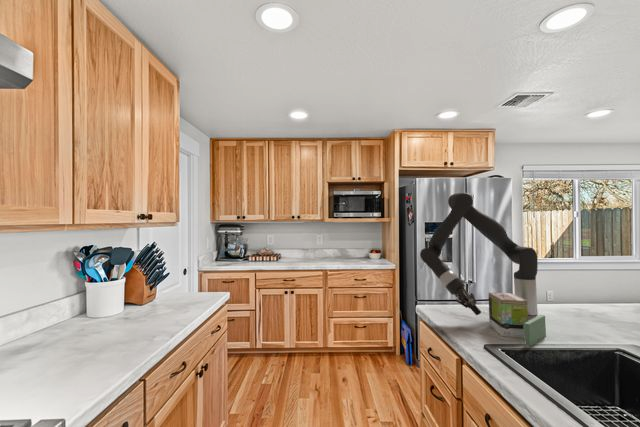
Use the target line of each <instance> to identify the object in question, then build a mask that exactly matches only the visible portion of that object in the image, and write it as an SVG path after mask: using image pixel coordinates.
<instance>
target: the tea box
mask: <svg viewBox="0 0 640 427" xmlns="http://www.w3.org/2000/svg"><path fill="white" fill-rule="evenodd" d="M488 315H489V317H488V319H489V320H488V322H489V326H490V327H491V328H492V329H493V330H495V332H497V333H498V334H499V335H501V337H507V338H522V339H524V336H525V329H524V323H526V322H528V321H529V315H528V306H527V300H525V299H523V298H520V297H518V296H516V295H515V293H514V294H513V293H510V292H488Z"/></svg>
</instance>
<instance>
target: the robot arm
mask: <svg viewBox="0 0 640 427" xmlns="http://www.w3.org/2000/svg"><path fill="white" fill-rule="evenodd" d="M447 200H448V203H447V204H448V206H449V208H450V209H451V210H450V212H449V213H448V215H447V217H445V219H444V220H442V222H441V223H440V224H439V225H438V226H437V228H436V229H435V230H434V232H433V234H432V236H431V237H430V240H429V246H428V247H423V248H422V249H421V251H420V252H419V256H420V259H421V261H423V263H425V265H426V266H428V268H429V269H430V270H431V271H432V272H433V274H434V275H435V276H436V277H437V279H439V281H440V283H441V284H442V286H444V287H445V289H447V291H448V292H449V294H451V295H452V296H455V297H456V299H455V301H456V302H457V303H458V304H459V305H461V306H463V307H465V308H466V309H467V308H468V309H470V310H471V311H472V313H474V314H475V315H476V316H479V315H480V314H482V311H481V309H480V308H478V307H477V300H476V297H475V296H474V293H473V292H471V293H469V292H468V290H467V289H465V286H466V285H465V283H464V282H463V281H462V280H461V279H460V278H459V277H458V275H457V274H455V272H453V271H452V270H451V268H450V267H449V266H448V265H447V264H446V263H445V262H444V261H442V259H441V258H440V255H441V252H442V250H443V248H444V246H445V244H446V242H447V241H448V239H449V237H450V235H451V234H452V232H453V231H454V230H455V229H456V226H457V225H458V224H459V223H460V221H461V220H462V218H464V219H465V220H466V221H467V222H469V224H470V225H472V226H473V228H475V229H476V230H477V231H478V232H479V233H481V235H483V237H485V238H486V239H488V240H489V241H490V242H491V243H492V244H493V245H495V246H496V247H497V248H499V250H500V251H502V252H503V254H504V255H505V256H507V258H508V259H509V260H510V261H511V262H512V263H514V264H516V265H518V270H516V271H514V272H513V283H514V284H513V286H514V287H513V288H514V295H516V296H518V297H520V298H523V299H525V300H527V306H528V316H539V315H538V295H537V280H536V279H537V274H538V264H539V263H538V262H539V261H538V254H537V251H536V250H535V249H534V248H532V247H529V246H521V245H519V244H517V243H515V242H514V241H513V240H512V239H511V238H510V237H509V236H508V234H507V231H506V229H505V228H504V226H502V224H501V223H499V222H498V221H497V220H495V219H494V218H493V217H491V216H490V215H488V214H486V213H485V212H482V211H481V210H478V209H477V208H475V207H474V205H473V204H474V199H473V197H472V195H471V194H469V193H468V192H458V193H457V192H456V193H453V194H451V195H450V196H449V197H448V199H447Z"/></svg>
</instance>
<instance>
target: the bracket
mask: <svg viewBox="0 0 640 427" xmlns="http://www.w3.org/2000/svg"><path fill="white" fill-rule="evenodd" d="M546 326H547V325H546V315H544V314H539V315H536V317H534V318H532V319H529V320H528V322H526V323H524V329H525V336H524V338H523V340H524V342H525V346H526V345H527V347H532V346H533V345H535V344H536V343H538V342H539V341H541V340H542V339H544V338H545V337H547V330H546V329H547V328H546Z"/></svg>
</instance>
